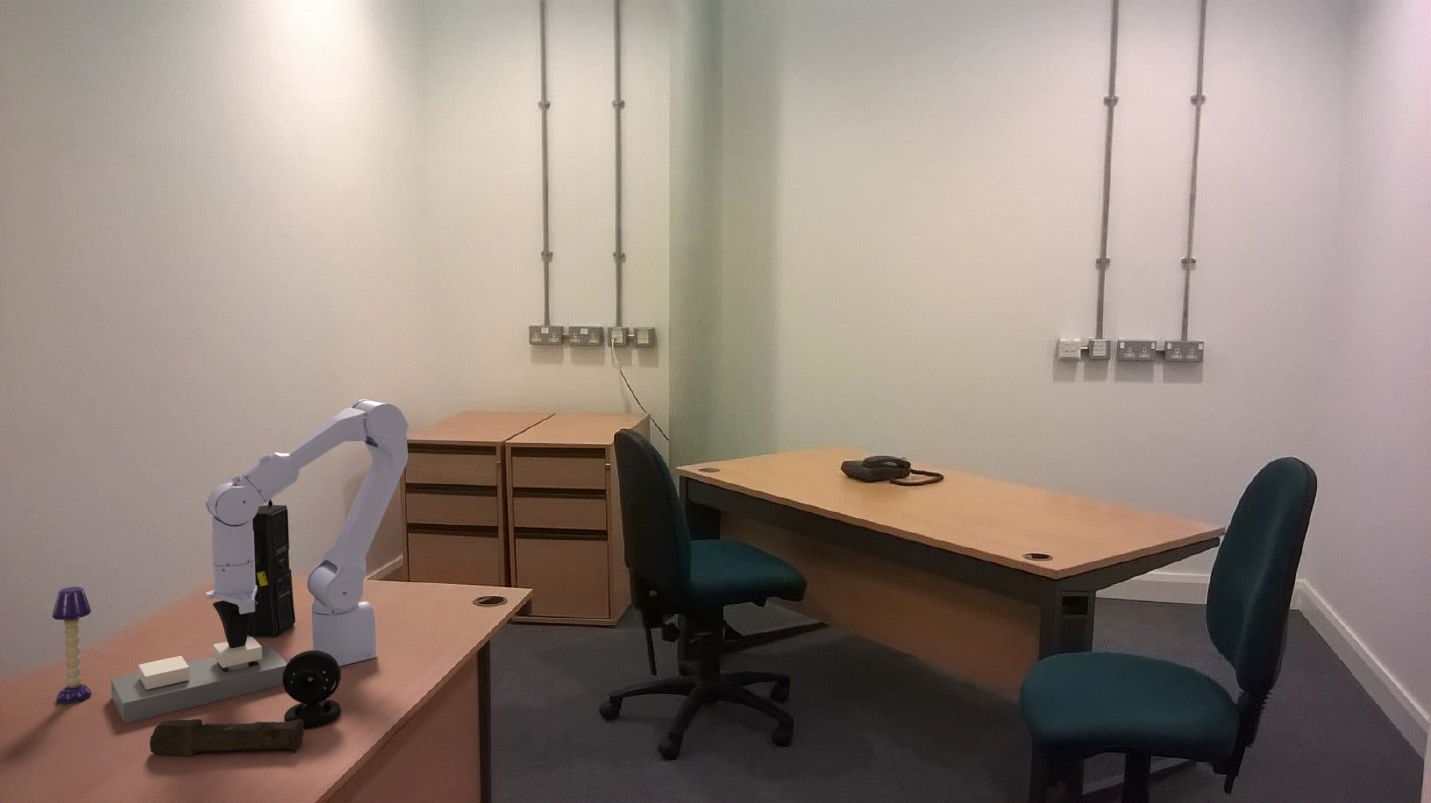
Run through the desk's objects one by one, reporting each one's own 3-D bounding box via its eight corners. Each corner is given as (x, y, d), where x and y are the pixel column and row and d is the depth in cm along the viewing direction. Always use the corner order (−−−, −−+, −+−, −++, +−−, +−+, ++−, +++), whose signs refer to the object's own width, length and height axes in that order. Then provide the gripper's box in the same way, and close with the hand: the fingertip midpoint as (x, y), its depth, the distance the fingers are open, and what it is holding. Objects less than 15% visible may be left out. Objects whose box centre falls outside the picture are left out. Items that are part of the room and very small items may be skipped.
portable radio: (276, 640, 159) (271, 501, 156) (242, 639, 159) (237, 500, 156) (297, 624, 167) (293, 492, 164) (265, 623, 167) (260, 491, 164)
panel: (269, 661, 149) (269, 644, 149) (289, 683, 141) (289, 664, 141) (111, 697, 135) (110, 678, 135) (124, 723, 127) (122, 703, 126)
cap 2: (253, 665, 145) (252, 636, 145) (262, 676, 141) (261, 646, 140) (214, 673, 141) (213, 644, 141) (223, 685, 137) (221, 655, 137)
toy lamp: (63, 692, 136) (56, 585, 134) (99, 688, 138) (93, 582, 136) (52, 705, 132) (45, 595, 130) (90, 701, 133) (83, 592, 132)
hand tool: (307, 742, 123) (306, 709, 122) (296, 756, 119) (295, 722, 119) (162, 745, 121) (160, 712, 121) (146, 760, 117) (144, 726, 117)
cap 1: (182, 685, 139) (181, 655, 138) (190, 697, 134) (189, 666, 134) (140, 695, 135) (138, 664, 134) (146, 708, 131) (145, 676, 130)
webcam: (276, 731, 125) (274, 662, 124) (291, 708, 132) (288, 642, 131) (336, 727, 127) (334, 659, 126) (346, 704, 134) (345, 639, 133)
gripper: (194, 555, 142) (197, 638, 143) (216, 576, 131) (219, 666, 133) (243, 548, 147) (246, 628, 148) (268, 568, 136) (271, 655, 137)
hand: (237, 645), depth 141 cm, fingers closed, pressing on cap 2
